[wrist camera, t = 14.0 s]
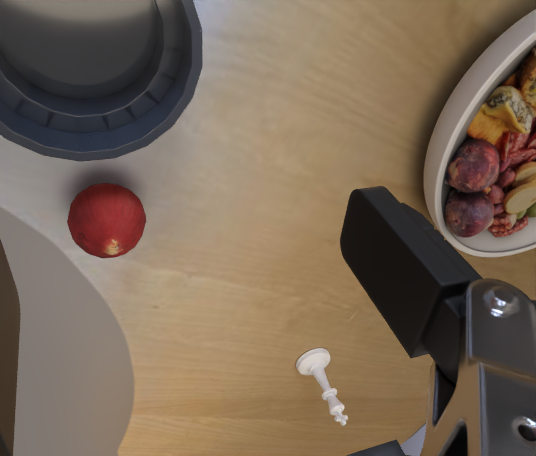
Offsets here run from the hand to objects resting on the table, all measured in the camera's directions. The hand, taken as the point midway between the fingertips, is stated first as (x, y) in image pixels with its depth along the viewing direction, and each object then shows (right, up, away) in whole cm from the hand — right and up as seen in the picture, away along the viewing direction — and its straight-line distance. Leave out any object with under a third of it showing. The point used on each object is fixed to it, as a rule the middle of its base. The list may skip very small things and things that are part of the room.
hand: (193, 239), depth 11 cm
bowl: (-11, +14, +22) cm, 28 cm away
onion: (-12, +3, +30) cm, 33 cm away
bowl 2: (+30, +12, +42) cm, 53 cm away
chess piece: (+8, -18, +57) cm, 60 cm away
